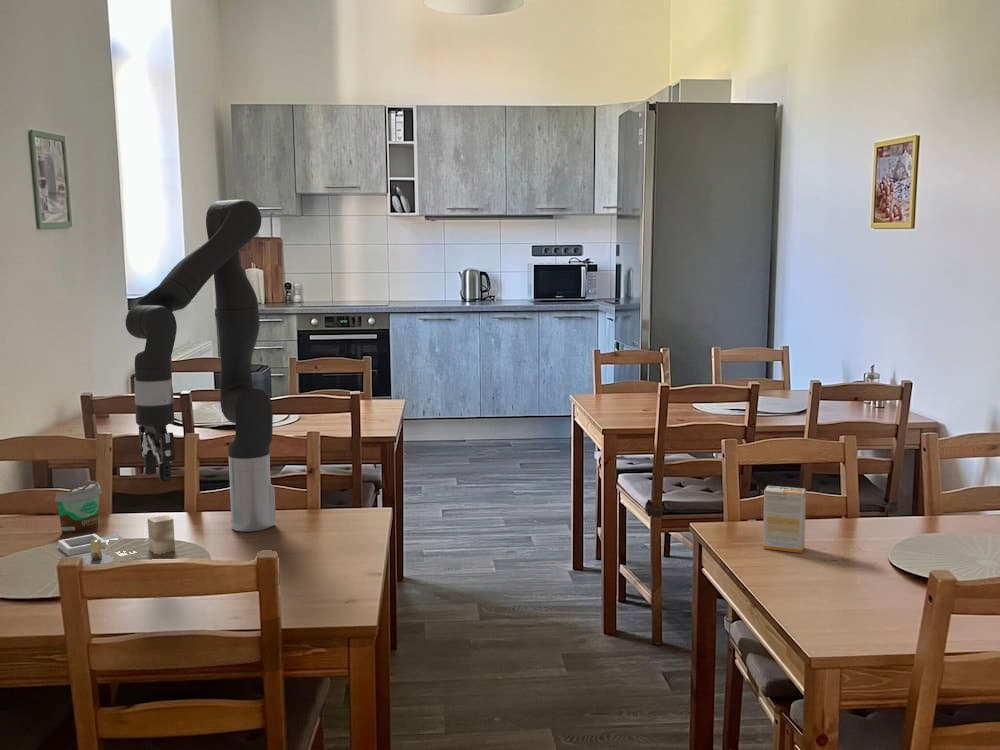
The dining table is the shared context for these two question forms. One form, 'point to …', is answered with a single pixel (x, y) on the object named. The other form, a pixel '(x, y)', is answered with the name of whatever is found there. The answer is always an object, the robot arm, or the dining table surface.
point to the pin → (96, 550)
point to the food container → (79, 508)
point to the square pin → (161, 534)
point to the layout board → (89, 548)
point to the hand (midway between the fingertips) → (157, 477)
